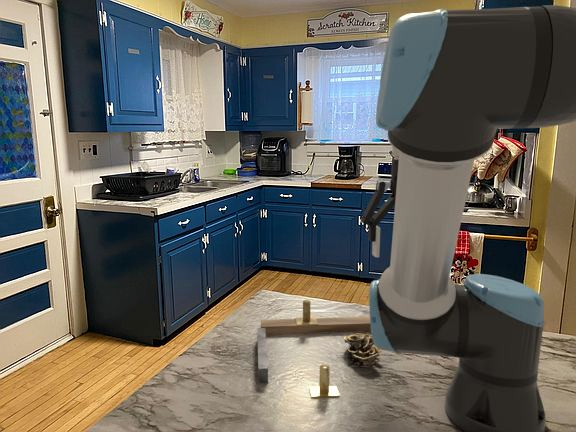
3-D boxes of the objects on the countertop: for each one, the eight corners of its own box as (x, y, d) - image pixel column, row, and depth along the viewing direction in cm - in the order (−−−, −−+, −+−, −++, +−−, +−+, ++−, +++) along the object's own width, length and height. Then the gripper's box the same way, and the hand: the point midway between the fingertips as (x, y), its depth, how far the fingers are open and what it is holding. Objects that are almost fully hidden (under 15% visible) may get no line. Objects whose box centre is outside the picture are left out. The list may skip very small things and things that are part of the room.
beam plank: (385, 330, 107) (386, 302, 106) (261, 334, 105) (260, 305, 103) (380, 323, 111) (381, 296, 110) (260, 327, 109) (260, 299, 107)
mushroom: (380, 370, 89) (381, 350, 88) (343, 368, 90) (343, 348, 89) (378, 344, 100) (378, 326, 100) (344, 342, 102) (345, 324, 101)
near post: (339, 396, 80) (339, 371, 79) (311, 397, 79) (312, 372, 78) (336, 387, 83) (336, 362, 82) (309, 388, 82) (309, 363, 81)
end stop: (268, 383, 84) (268, 368, 84) (258, 383, 84) (258, 368, 83) (265, 340, 102) (265, 328, 101) (257, 340, 102) (257, 328, 101)
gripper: (456, 158, 100) (450, 250, 103) (348, 158, 97) (346, 252, 100) (474, 159, 93) (467, 258, 96) (358, 158, 90) (354, 260, 93)
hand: (405, 255), depth 98 cm, fingers open, 13 cm apart
